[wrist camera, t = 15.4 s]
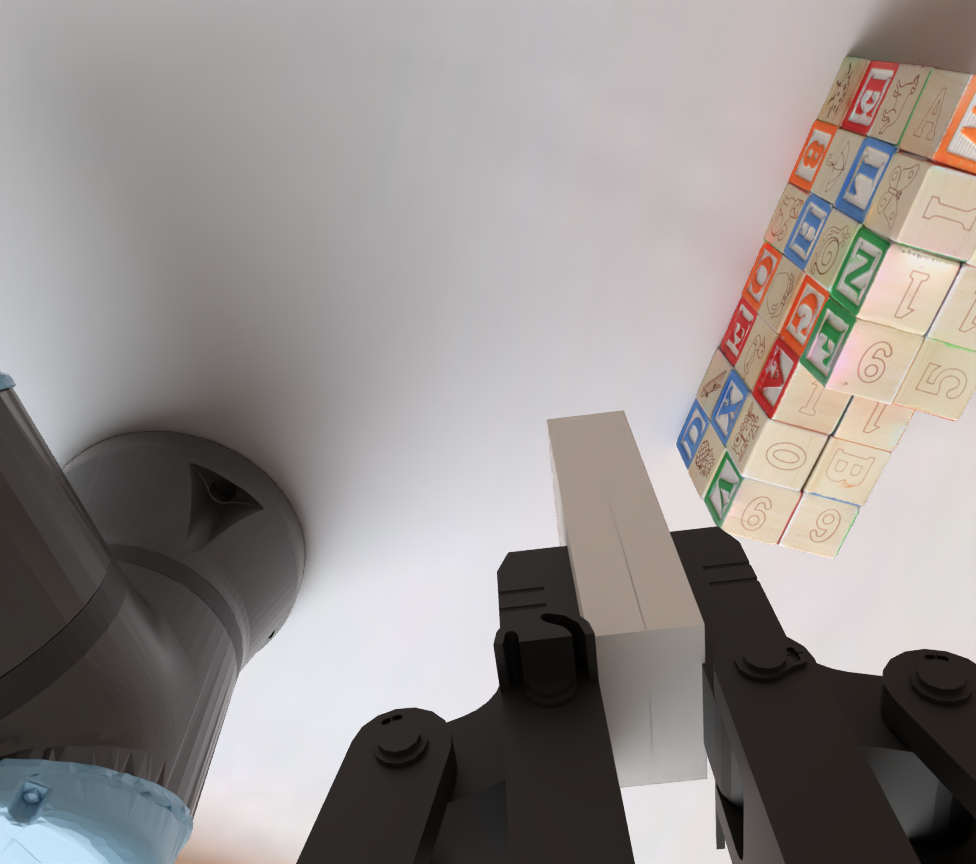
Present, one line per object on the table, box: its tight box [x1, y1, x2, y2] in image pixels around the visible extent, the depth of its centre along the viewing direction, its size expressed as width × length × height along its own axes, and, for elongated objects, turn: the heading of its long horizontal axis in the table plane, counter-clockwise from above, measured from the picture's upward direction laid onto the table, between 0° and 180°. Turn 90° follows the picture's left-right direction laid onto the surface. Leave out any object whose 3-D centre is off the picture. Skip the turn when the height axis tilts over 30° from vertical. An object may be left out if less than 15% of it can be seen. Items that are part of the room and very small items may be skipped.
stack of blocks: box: [676, 56, 976, 559], centre depth 41 cm, size 21×6×12 cm, turn 163°
